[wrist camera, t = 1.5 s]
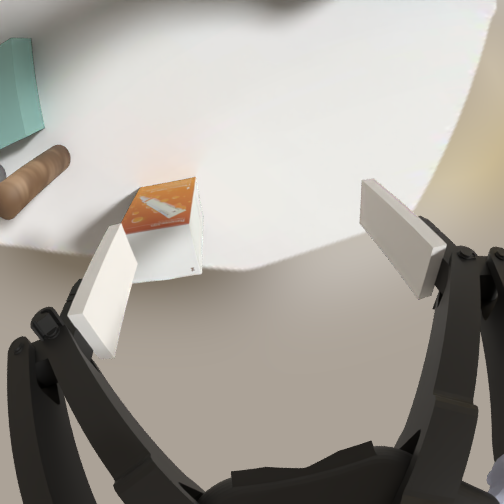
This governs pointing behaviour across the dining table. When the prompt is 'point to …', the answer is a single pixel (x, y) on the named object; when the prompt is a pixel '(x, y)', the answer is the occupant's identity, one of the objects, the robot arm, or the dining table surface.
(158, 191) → the small box
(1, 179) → the charcoal dowel
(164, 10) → the dining table surface
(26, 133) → the hole block
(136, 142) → the dining table surface
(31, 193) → the walnut dowel
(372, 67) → the dining table surface
